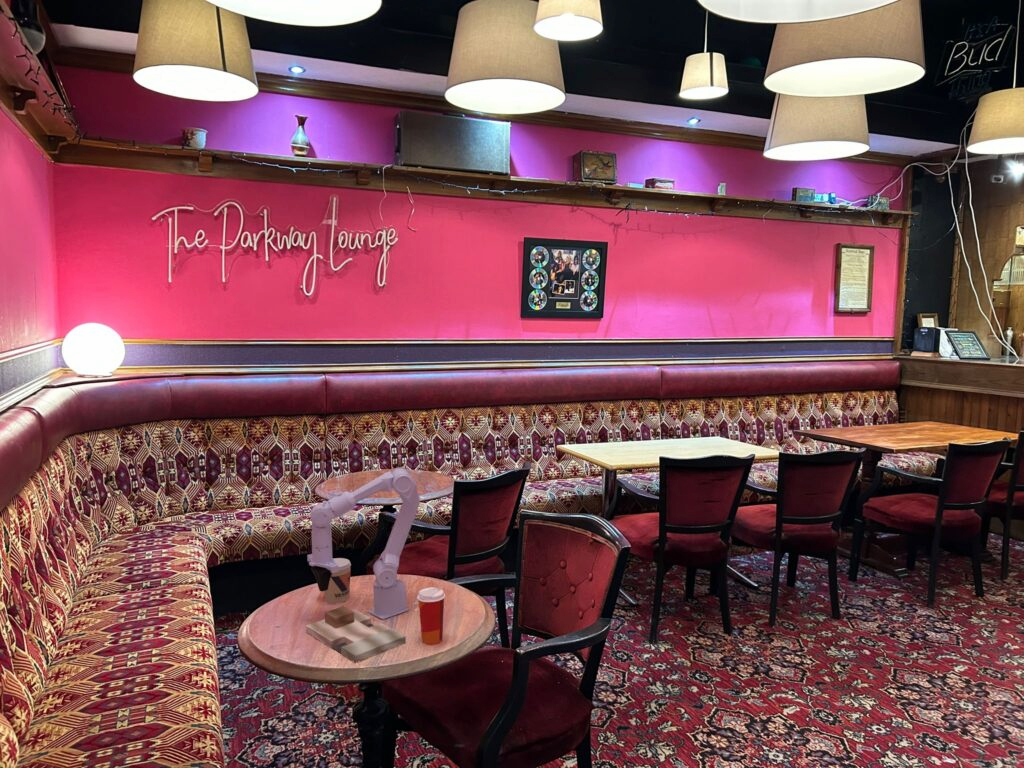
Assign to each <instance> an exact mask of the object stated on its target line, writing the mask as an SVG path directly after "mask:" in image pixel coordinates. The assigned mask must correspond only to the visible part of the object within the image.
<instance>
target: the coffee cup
mask: <svg viewBox="0 0 1024 768" xmlns="http://www.w3.org/2000/svg"><path fill="white" fill-rule="evenodd" d="M333 560H334V561H335V563H336V564H337V565H338V569H339V571H338V572H335V573H332V575H331V578H330V582H329V586H328V590H326V591H323V596H324V597H323V599H324V602H325V603H326V604H331V605H335V603H339V604H342V603H341V602H343V603H345V602H344V601H346V602H348V599H349V600H350V592H351V591H350V590H351V566H352V564H351V561H350V560H349V559H347V558H344V557H337V558H333Z"/></svg>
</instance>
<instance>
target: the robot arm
mask: <svg viewBox="0 0 1024 768" xmlns="http://www.w3.org/2000/svg"><path fill="white" fill-rule="evenodd" d="M392 489H393V490H394V492H395V493H396V494H397V495H398V496H399V497H400V499H401V501H402V504H401V505H400V508H399V511H398V513H397V515H396V519H395V521H394V523H393V527H392V529H391V532H390V535H389V537H388V540H387V542H386V546H385V547H384V550H383V551H382V553H381V554H380V556H379V558H378V559H377V560H376V561H375V563H373V567H372V570H373V571H372V572H373V574H374V576H375V580H374V581H373V582H372V583H373V586H372V587H373V591H372V592H373V608H371V609H369V610H367V611H368V614H371V615H373V616H375V617H377V618H379V619H381V620H385V619H388V618H391V617H394V616H397V615H400V614H402V613H405V612H408V611H409V609H408V608H407V606H408V605H407V588H406V585H405V583H404V582H403V580H401V579H398V569H399V567H400V566H399V565H400V558H401V557H400V556H401V554H402V552H403V549H404V546H405V543H406V541H407V539H408V536H409V533H410V530H411V528H412V525H413V523H414V520H415V517H416V514H417V511H418V509H419V506H420V503H421V501H420V496H419V491H418V487H417V482H416V481H415V480H414V479H413V477H412V475H411V474H410V472H409V471H408V470H407V469H406V468H404V467H396V468H393V469H392V470H389V471H386V472H385V473H383V474H382V475H380V476H378V477H376V478H375V479H373V480H371V481H369V482H367V483H366V484H364V485H363V486H361V487H359V488H357V489H355V490H354V491H353V492H351V491H344V492H342V491H339V492H337V493H336V494H337V495H336V496H333V497H332V498H330V499H328V500H326V499H325V500H323V501H322V503H318V504H316V505H314V506H313V507H312V509H310V510H311V511H310V515H309V516H310V521H311V553H310V554H307V556H306V558H307V560H306V561H307V563H308V566H311V568H310V571H311V572H312V573H313V576H314V578H315V580H316V584H317V587H318V590H319V592H324V591H326V590H328V586H329V582H330V578H331V575H332V573H335V572H338V571H339V569H338V565H337V564H336V563H335V561H334V560H333V559H334V558H333V539H332V537H333V536H332V529H331V523H332V521H333V520H334V519H337V518H339V517H342V516H343V515H345V514H347V513H349V512H350V511H352V510H354V509H355V508H356V505H357V503H359V502H360V501H363V500H365V499H367V498H368V497H372V496H373V495H375V494H378V493H380V492H384V493H385V492H387V493H392V492H393V491H392Z"/></svg>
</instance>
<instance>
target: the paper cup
mask: <svg viewBox="0 0 1024 768" xmlns="http://www.w3.org/2000/svg"><path fill="white" fill-rule="evenodd" d="M445 597H446V594H445V592H444V590H443V589H441V588H439V587H438V588H437V587H432V586H431V587H425V588H422V589H421V590H419V591H418V595H417V601H418V608H419V610H418V611H419V622H420V632H421V633H420V635H421V642H422V644H423V645H427V646H435V645H439V644H440V643H442V642H443V635H444V634H443V631H444V630H443V629H444V610H445V609H444V607H445Z"/></svg>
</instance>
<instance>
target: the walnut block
mask: <svg viewBox="0 0 1024 768" xmlns="http://www.w3.org/2000/svg"><path fill="white" fill-rule="evenodd" d="M351 610H352V609H349V608H347V607H345V606H344V605H343V606H339V607H337V608H334V609H331V610H328V611H325V612H324V619H325V623H327V624H329V625H331V626H332V627H334V628H339V627H342V626H345V625H348V624H351V623H353V622H354V612H353V611H351Z"/></svg>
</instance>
